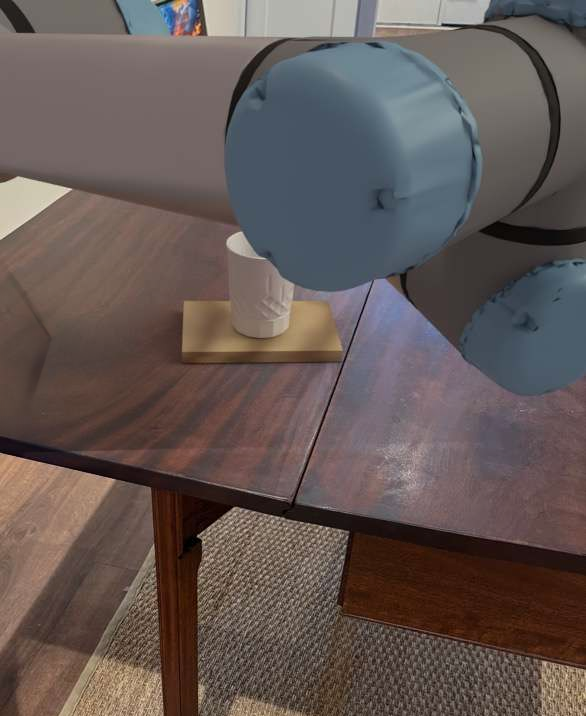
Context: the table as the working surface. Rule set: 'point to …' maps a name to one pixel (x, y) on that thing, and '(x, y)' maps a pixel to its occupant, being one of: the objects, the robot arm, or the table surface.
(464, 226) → the robot arm
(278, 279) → the white cup
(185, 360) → the birch board
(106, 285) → the table surface
